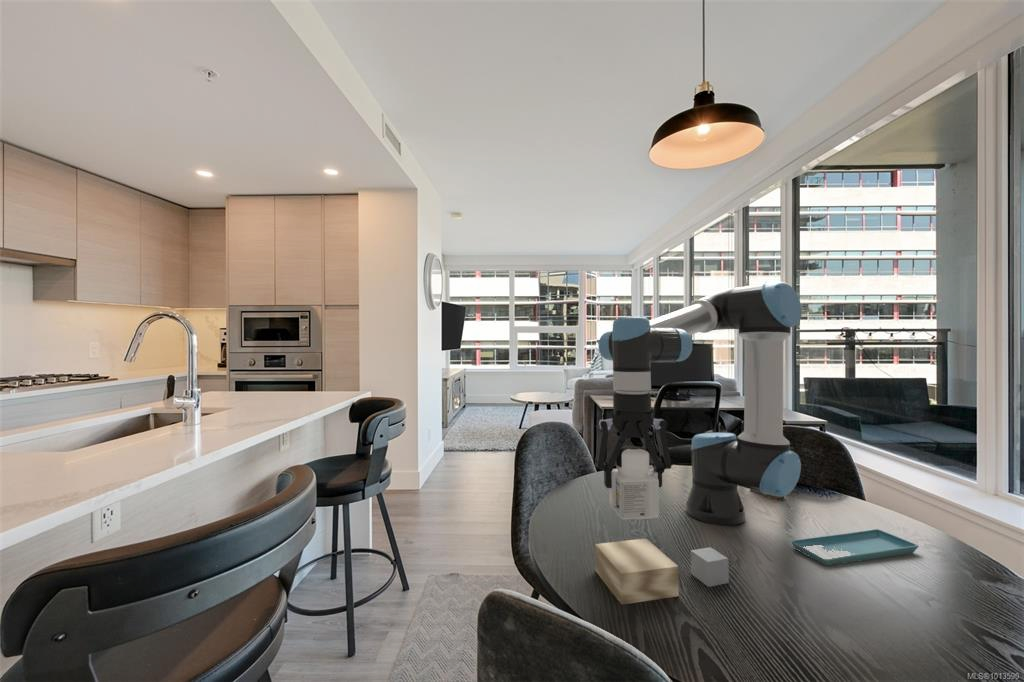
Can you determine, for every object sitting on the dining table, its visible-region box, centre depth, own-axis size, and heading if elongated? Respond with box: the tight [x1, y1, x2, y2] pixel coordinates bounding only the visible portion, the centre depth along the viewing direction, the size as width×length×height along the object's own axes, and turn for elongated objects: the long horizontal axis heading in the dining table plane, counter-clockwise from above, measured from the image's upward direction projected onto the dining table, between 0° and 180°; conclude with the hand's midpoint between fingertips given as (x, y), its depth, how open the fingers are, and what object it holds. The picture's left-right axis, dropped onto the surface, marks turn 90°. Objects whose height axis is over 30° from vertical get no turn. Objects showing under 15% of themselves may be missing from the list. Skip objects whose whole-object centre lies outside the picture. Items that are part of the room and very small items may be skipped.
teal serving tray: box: [790, 528, 919, 566], centre depth 96 cm, size 26×9×2 cm, turn 101°
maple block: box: [594, 538, 680, 605], centre depth 84 cm, size 12×12×6 cm
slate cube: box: [690, 546, 730, 588], centre depth 85 cm, size 5×5×5 cm
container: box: [609, 445, 660, 520], centre depth 84 cm, size 8×8×13 cm
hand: (633, 502), depth 84 cm, fingers closed on container, 8 cm apart
